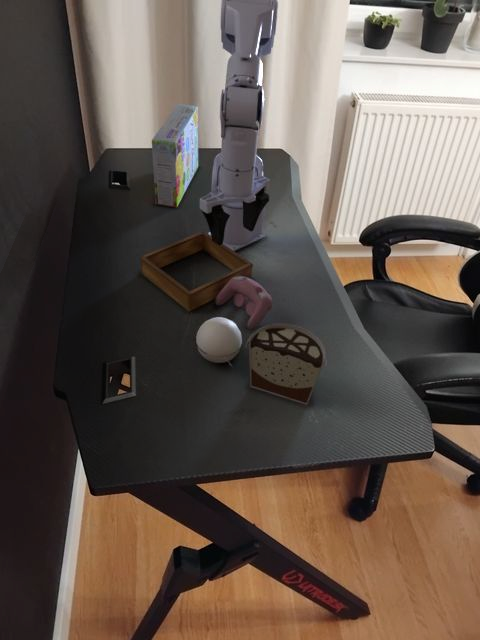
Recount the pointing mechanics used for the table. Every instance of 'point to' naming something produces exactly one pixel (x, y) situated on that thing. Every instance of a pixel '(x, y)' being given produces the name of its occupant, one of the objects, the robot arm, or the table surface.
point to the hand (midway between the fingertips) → (233, 235)
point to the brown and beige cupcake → (285, 361)
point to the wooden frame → (183, 249)
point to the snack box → (175, 155)
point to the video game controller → (241, 292)
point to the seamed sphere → (218, 340)
